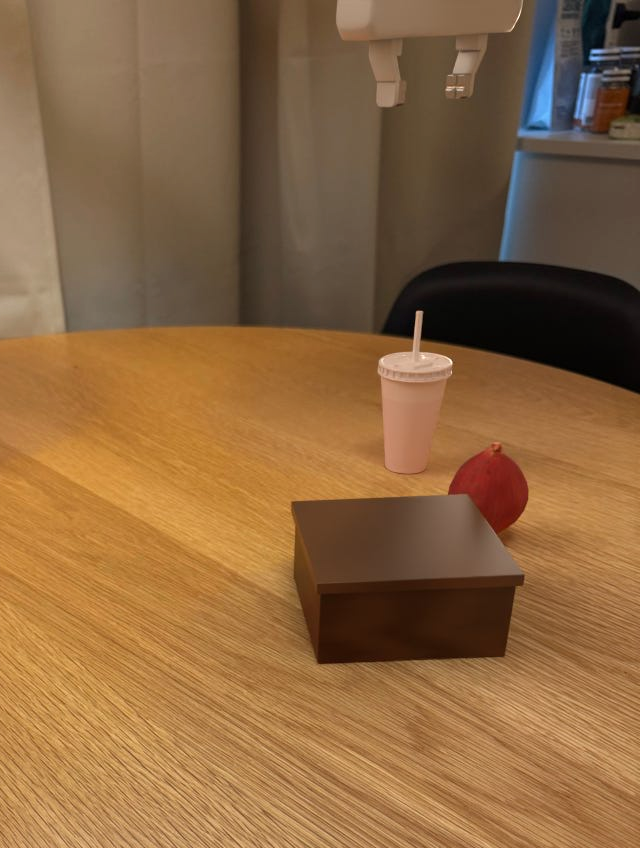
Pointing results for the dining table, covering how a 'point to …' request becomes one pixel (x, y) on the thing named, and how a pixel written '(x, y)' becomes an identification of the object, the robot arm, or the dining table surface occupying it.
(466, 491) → the onion
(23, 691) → the dining table surface
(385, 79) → the robot arm
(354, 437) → the dining table surface
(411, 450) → the smoothie
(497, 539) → the walnut box
